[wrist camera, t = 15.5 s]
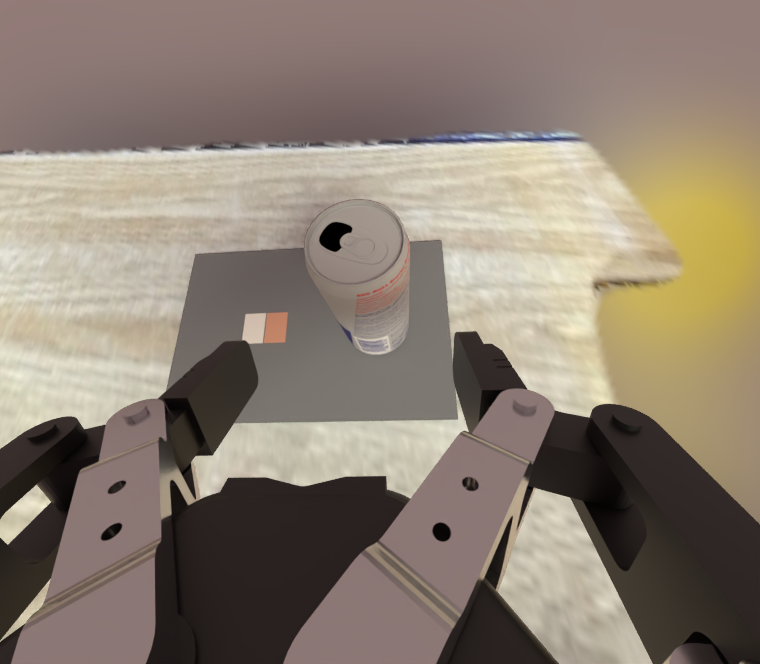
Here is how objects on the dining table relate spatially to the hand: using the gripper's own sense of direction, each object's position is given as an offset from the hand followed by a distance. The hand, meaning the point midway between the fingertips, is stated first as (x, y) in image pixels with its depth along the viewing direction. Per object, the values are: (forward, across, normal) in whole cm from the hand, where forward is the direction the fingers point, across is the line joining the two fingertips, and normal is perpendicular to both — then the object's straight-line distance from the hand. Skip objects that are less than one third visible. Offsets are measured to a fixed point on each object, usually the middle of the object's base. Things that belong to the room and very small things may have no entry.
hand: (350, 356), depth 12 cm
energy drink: (+13, 0, +5) cm, 14 cm away
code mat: (+14, +6, +5) cm, 16 cm away
